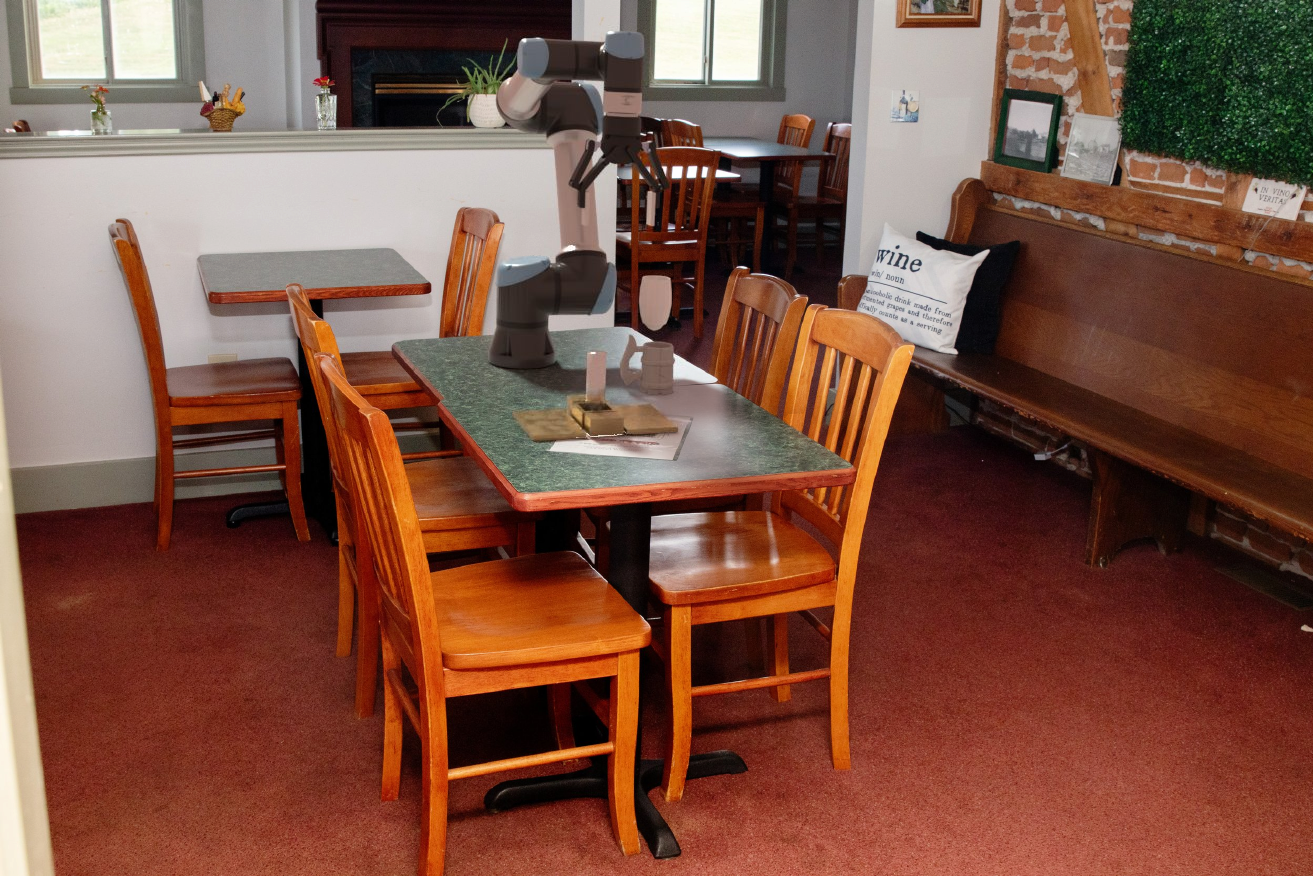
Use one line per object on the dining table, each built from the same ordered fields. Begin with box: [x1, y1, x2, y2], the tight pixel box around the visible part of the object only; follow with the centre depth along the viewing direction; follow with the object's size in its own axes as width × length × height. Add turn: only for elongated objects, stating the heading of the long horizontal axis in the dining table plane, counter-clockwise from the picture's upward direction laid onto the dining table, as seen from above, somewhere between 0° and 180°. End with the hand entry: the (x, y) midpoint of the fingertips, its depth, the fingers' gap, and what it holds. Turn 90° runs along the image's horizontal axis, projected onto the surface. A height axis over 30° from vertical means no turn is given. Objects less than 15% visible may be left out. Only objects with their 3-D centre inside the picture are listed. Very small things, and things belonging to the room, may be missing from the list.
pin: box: [585, 349, 608, 411], centre depth 232 cm, size 4×4×14 cm
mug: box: [619, 334, 676, 396], centre depth 258 cm, size 8×12×12 cm, turn 103°
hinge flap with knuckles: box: [566, 394, 679, 435], centre depth 236 cm, size 16×17×4 cm
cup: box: [638, 275, 673, 331], centre depth 275 cm, size 7×7×21 cm
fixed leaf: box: [512, 400, 624, 442], centre depth 232 cm, size 16×17×4 cm
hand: (618, 225), depth 246 cm, fingers open, 13 cm apart
